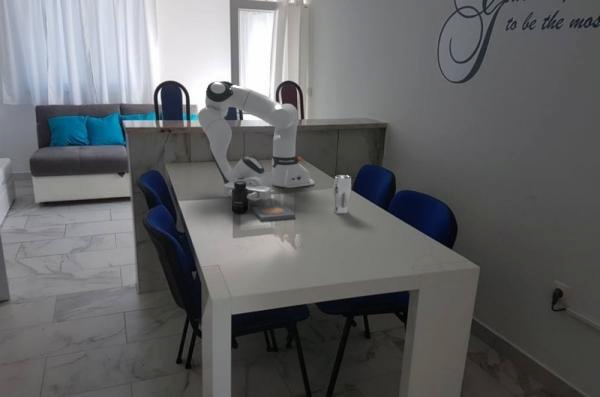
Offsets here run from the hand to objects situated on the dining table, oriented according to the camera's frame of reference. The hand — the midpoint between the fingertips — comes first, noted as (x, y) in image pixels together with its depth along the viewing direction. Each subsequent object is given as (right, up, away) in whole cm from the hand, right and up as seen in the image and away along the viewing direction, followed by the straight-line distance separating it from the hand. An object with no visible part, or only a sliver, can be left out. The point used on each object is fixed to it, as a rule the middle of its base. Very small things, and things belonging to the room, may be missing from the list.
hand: (239, 195), depth 188 cm
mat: (+13, -7, +1) cm, 15 cm away
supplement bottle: (0, -6, +3) cm, 7 cm away
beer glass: (+41, -7, +7) cm, 42 cm away
